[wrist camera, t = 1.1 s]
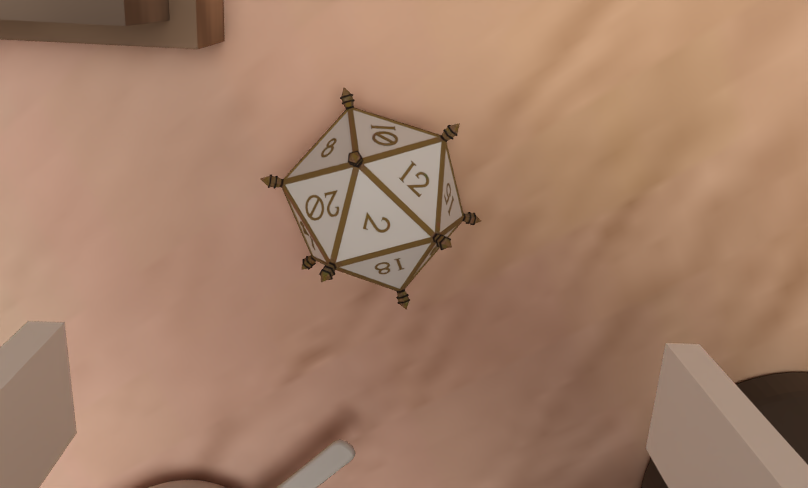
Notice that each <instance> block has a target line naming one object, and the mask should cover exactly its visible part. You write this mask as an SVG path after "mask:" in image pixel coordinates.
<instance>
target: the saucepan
mask: <svg viewBox="0 0 808 488" xmlns="http://www.w3.org/2000/svg"><path fill="white" fill-rule="evenodd" d="M354 456H355V450H354V448H353V446H351V445H350V444H349V443H348V442H347V441H344V440H342V439H339V440H336V441H334V442H333V443H331V444H330V445H329V446H328V447H326V448H325V449H324V450H323V451H321V452H320V453H319V454H318V455H316V456H315V457H314V458H313V459H312V460H310V461H309V462H308V463H307V464H305V465H304V466H303V467H302V468H300V469H299V470H298V471H297V472H295V473H294V474H293V475H292V476H290V477H289V478H288V479H287V480H285V481H284V482H283V483H282V484H280V485H279V486H278V487H277V488H317V487H318V486H319V485H321V484H322V483H323V482H324V481H326V480H327V479H328V478H330V477H331V476H332V475H333V474H335V473H336V472H337V471H338V470H340V469H341V468H342V467H344V466H345V465H346V464H347V463H349V462H350V461H351V460H352V459H353V458H354ZM148 488H226V487H224V486H221V485H218V484H215V483H212V482H207V481H201V480H176V481H169V482H166V483H162V484H158V485H155V486H151V487H148Z"/></svg>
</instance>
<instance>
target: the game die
mask: <svg viewBox="0 0 808 488" xmlns="http://www.w3.org/2000/svg"><path fill="white" fill-rule="evenodd" d="M352 96H353V94H351V93H350V92H349V91H348V90H346V89H345V88H343V92H342V96H341V98H340V99H342V101H343V103H342V104H344V106H345V107H346V110H345V111H344V113H343V114H342V115H341V116H340V117H339V118H338V119H337V120H336V121H335V123H334V124H333V125H332V126H331V127H330V128H329V129H328V130H327V131H326V132H325V134H324V135H323V136H322V137H321V138H320V139H319V140H318V141H317V142H316V144H315V145H314V146H313V147H312V148H311V149H310V150H309V151H308V152H307V154H306V155H305V156H304V157H303V158H302V159H301V160H300V161H299V162H298V164H297V165H296V166H295V167H294V168H293V169H292V170H291V171H290V172H289V173H288V175H287V176H286V177H285V178H284V179H280V178H278V176H275V177H274V176H272V175H270V176H268V177H264V178H261V180H262V181H263V182H264V183H265V184H266V185H267V186H268V188H269V187H274V188H275V187H281V188H282V189H283V191H284V194H285V196H286V198H287V201H288V203H289V205H290V207H291V210H292V212H293V214H294V217H295V219H296V221H297V224H298V226H299V228H300V230H301V233H302V235H303V237H304V240H305V242H306V244H307V247H308V249H309V251H310V253H311V256H306V259H303V264H302V269H308V270H309V269H310V268H312V266H313V265H315V264H316V263H315V262H316V261H318V262H320V263H322V264H324V265H325V266H324V268H323V269H322V270H321V272H320V274H319V275H321V282H323V281H326V280H331V279H333V278H332V276H333V275H335V270H338V271H340V272H343V273H346V274H349V275H352V276H355V277H358V278H361V279H363V280H366V281H369V282H372V283H375V284H378V285H381V286H384V287H386V288H389V289H392V290H395V291H397V293H398V296H397V297H396V298H397V299H398V304H400V305H401V306H403V307H404V308H405V309H407V306H408V303H409V301H410V299H409V298H408V296H409V295H408V294H406V292H405V288H406V287H407V286H408V284H409V283H410V282H411V281H412V280H413V279H414V277H415V276H416V275H417V274H418V273H419V272H420V270H421V269H422V268H423V267H424V266H425V264H426V263H427V262H428V261H429V260H430V259H431V257H432V256H433V255H434V254H435V253H436V252H437V250H438V249H439V248H441V250H443V249H446V248H450V247H452V246H451V242H450V241H451V239H450V238H448V237H449V236H450V235H451V234H452V233H453V232H454V230H455V229H456V228H457V227H458V226H459V225H460V223H461V222H462V221H464V222H466V224H470V225H474V224H475V223H478V222H480V221H481V220H480V219H479V218H478V217H477V216H476V215H475V213H473V214H470V212H469V213H467V214H464V213H463V210H462V206H461V202H460V198H459V193H458V189H457V185H456V181H455V177H454V172H453V168H452V164H451V160H450V156H449V151H448V147H447V143H446V142H447V140H450V139H453V137H454V136H455V135H456V136H457V132H458V128H459V124H460V123H459V124H456V125H452V126H451V125H448V126H447V127H448V128H447V129H444V130H443V131H444V132H443V134H442V135H438V134H435V133H432V132H429V131H426V130H423V129H419V128H416V127H413V126H410V125H407V124H404V123H401V122H397V121H394V120H391V119H388V118H385V117H382V116H379V115H376V114H372V113H369V112H366V111H363V110H360V109H357V108H354V106H353V101H354V100H353V97H352Z"/></svg>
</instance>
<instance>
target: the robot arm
mask: <svg viewBox="0 0 808 488" xmlns="http://www.w3.org/2000/svg"><path fill="white" fill-rule="evenodd" d="M76 433H77V431H76V422H75V413H74V404H73V395H72V386H71V377H70V367H69V358H68V349H67V340H66V331H65V322H39V321H28V322H27V323H26V324H24V325H23V326H22V327H21V328H20V329H19V330H18V331H17V332H16V333H15V334H14V335H13V336H12V337H11V338H10V339H9V340H8V341H6V342H5V343H4V344H3V345H2V346H1V347H0V488H39V487H40V486H41V484H42V483H43V481H44V480H45V478H46V477H47V475H48V474H49V473H50V471H51V470H52V468H53V467H54V465H55V464H56V462H57V461H58V459H59V458H60V456H61V455H62V454H63V452H64V451H65V449H66V448H67V446H68V445H69V443H70V442H71V440H72V439H73V437H74V436H75V434H76ZM646 450H647V452H648V453H649V455H650V457H651V458H652V459H651V461H650V463H649V465H648V468H647V470H646V473H645V476H644V479H643V483H642V487H641V488H808V373H805V372H793V373H781V374H773V375H768V376H763V377H759V378H755V379H751V380H748V381H745V382H742V383H739V384H737V385H736V384H735V383H734V382H733V381H732V380H731V379H730V378H729V377H728V375H727V374H726V373H725V372H724V371H723V370H722V369H721V368H720V367H719V365H718V364H717V363H716V362H715V361H714V360H713V359H712V358H711V357H710V355H709V354H708V353H707V352H706V351H705V350H704V349H703V348H702V346H701V345H700V344H681V343H666V344H665V349H664V355H663V360H662V365H661V370H660V376H659V381H658V386H657V392H656V397H655V402H654V407H653V413H652V418H651V423H650V428H649V434H648V439H647V444H646Z"/></svg>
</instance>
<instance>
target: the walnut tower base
mask: <svg viewBox="0 0 808 488" xmlns="http://www.w3.org/2000/svg"><path fill="white" fill-rule="evenodd" d="M0 39H5V40H25V41H45V42H65V43H85V44H105V45H125V46H145V47H165V48H185V49H200V48H203V47H206V46H210V45H213V44H216V43H219V42H223V41H224V8H223V0H0Z"/></svg>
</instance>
